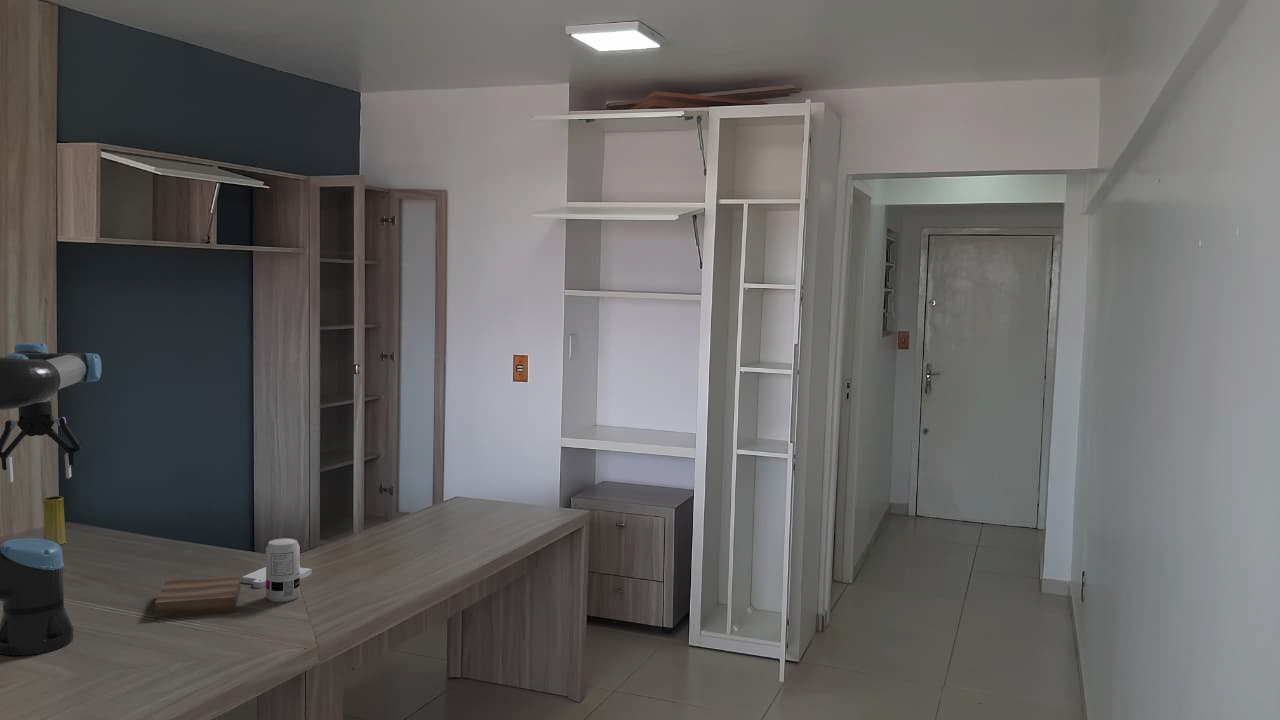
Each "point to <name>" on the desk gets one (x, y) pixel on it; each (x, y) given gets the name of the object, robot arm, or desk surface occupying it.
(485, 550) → the desk surface
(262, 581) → the mounting plate
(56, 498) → the vase
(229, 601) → the walnut riser
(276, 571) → the supplement can
